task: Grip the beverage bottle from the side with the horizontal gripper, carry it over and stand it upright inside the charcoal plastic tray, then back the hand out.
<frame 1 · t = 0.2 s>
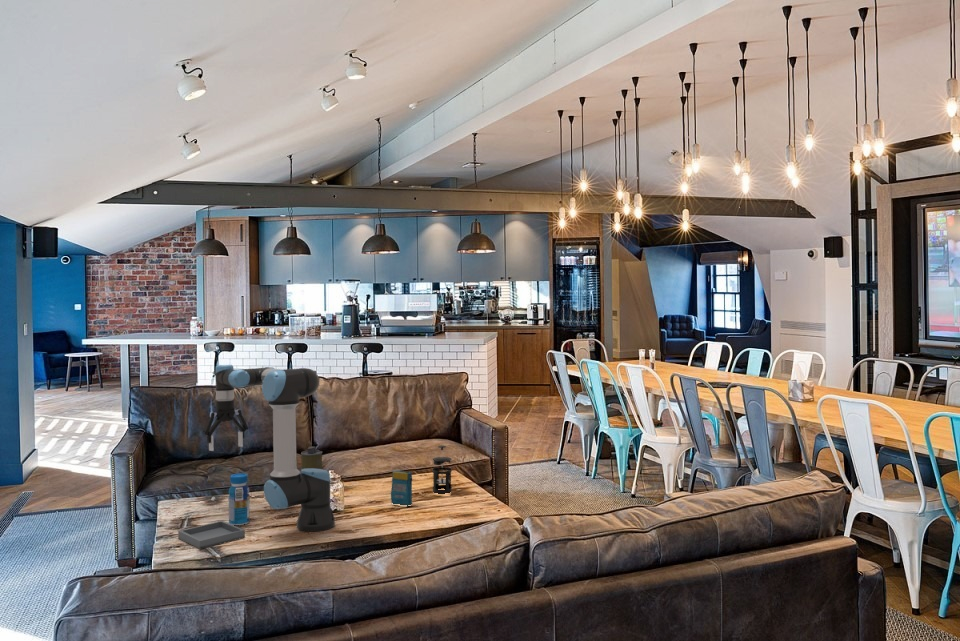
hand: (226, 448, 317), 27 cm above the table, tool pointing down, fingers open, 13 cm apart
french press: (441, 494, 343), on the table
tray: (211, 538, 279), on the table
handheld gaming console: (401, 506, 323), on the table
beverage bottle: (239, 523, 298), on the table
canister: (312, 487, 357), on the table
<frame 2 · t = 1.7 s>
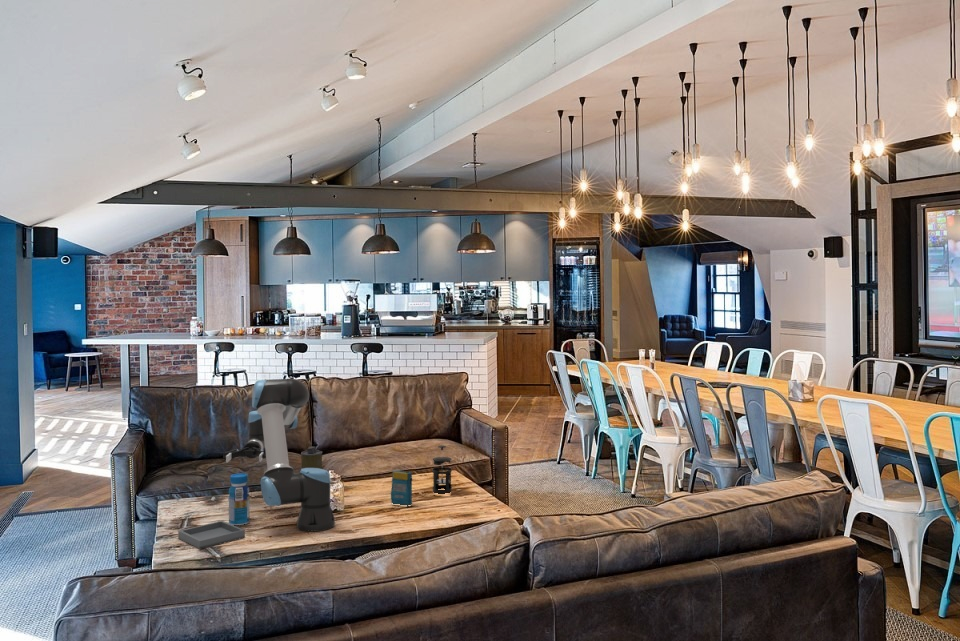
hand: (243, 458, 308), 25 cm above the table, tool horizontal, fingers open, 13 cm apart
nothing on the table moved.
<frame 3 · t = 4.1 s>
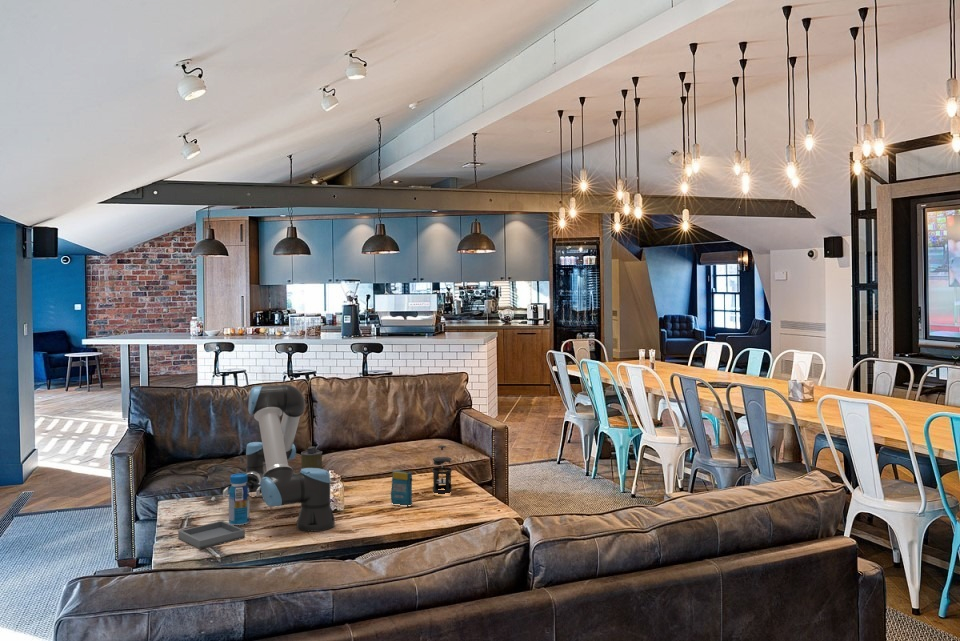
hand: (240, 494, 303), 11 cm above the table, tool horizontal, fingers open, 13 cm apart
nothing on the table moved.
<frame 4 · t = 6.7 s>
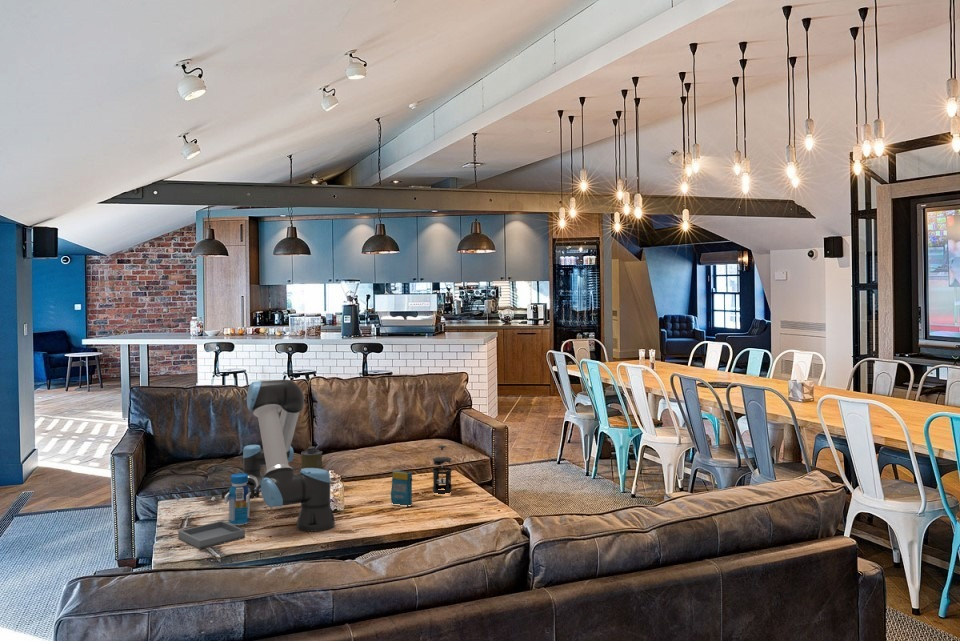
hand: (236, 499, 293), 11 cm above the table, tool horizontal, fingers closed on beverage bottle, 8 cm apart
beverage bottle: (239, 523, 298), on the table, touching gripper
everything else where it was.
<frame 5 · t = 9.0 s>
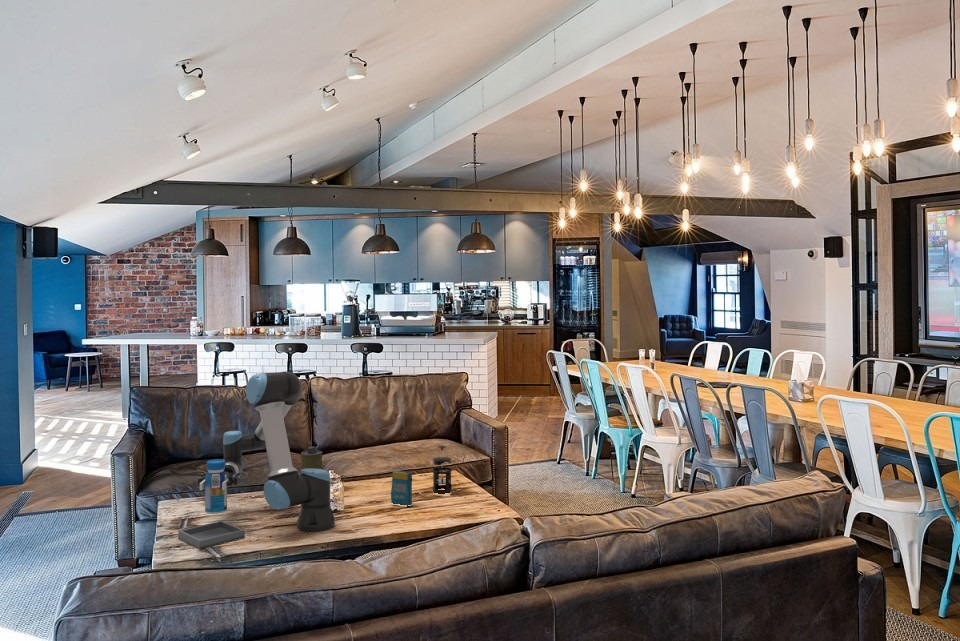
hand: (212, 486, 279), 20 cm above the table, tool horizontal, fingers closed on beverage bottle, 8 cm apart
beverage bottle: (216, 511, 284), point 9 cm above the table, touching gripper
everything else where it was.
when the fingers open (13 cm above the table, at t = 11.5 s): beverage bottle drops 1 cm, resting on tray.
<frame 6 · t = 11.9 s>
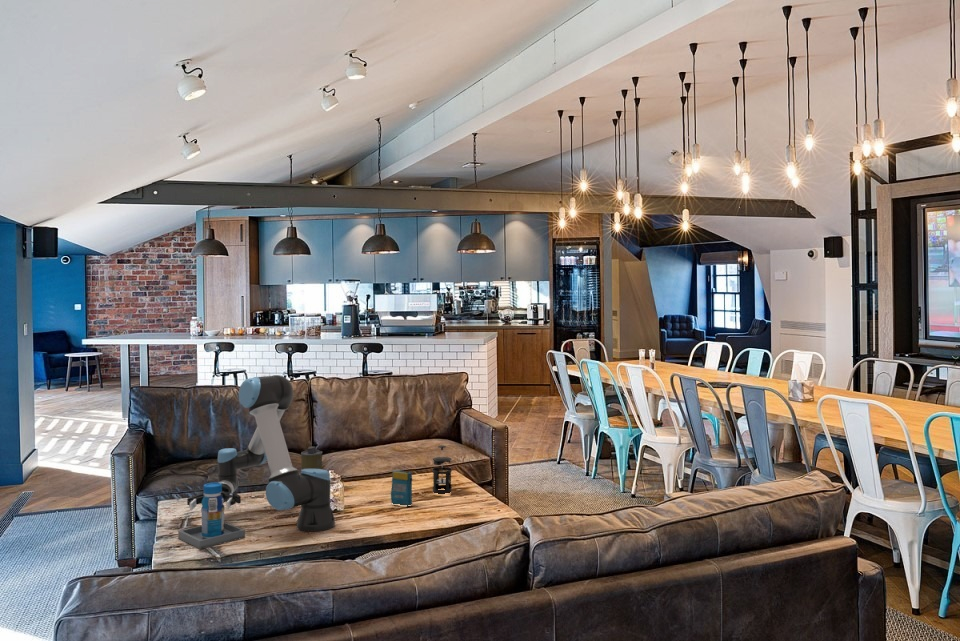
hand: (209, 506, 276), 13 cm above the table, tool horizontal, fingers open, 13 cm apart
beverage bottle: (212, 536, 279), point 1 cm above the table, touching tray
everything else where it was.
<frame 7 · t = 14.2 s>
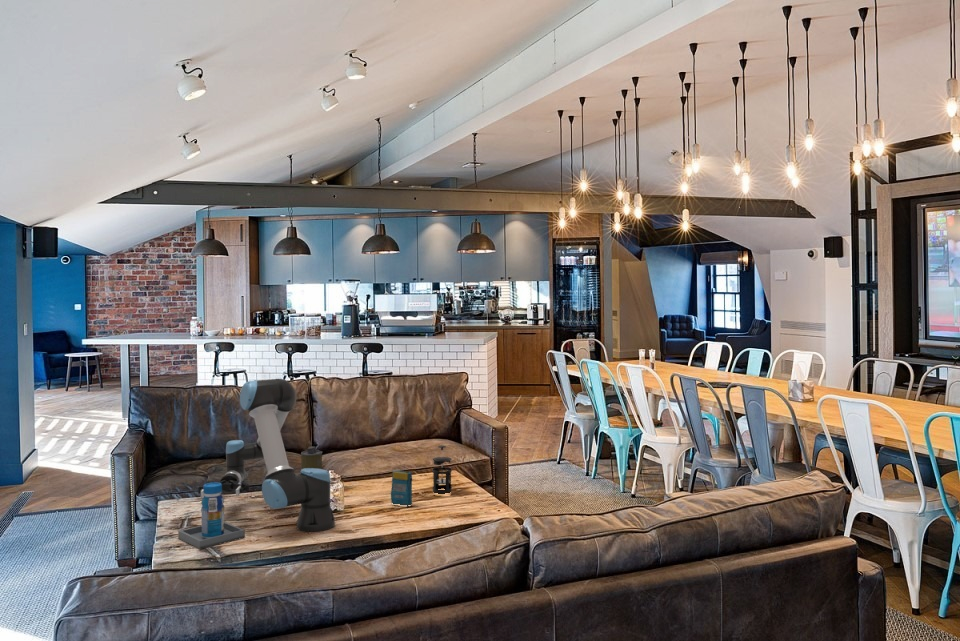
hand: (219, 493, 290), 14 cm above the table, tool horizontal, fingers open, 13 cm apart
nothing on the table moved.
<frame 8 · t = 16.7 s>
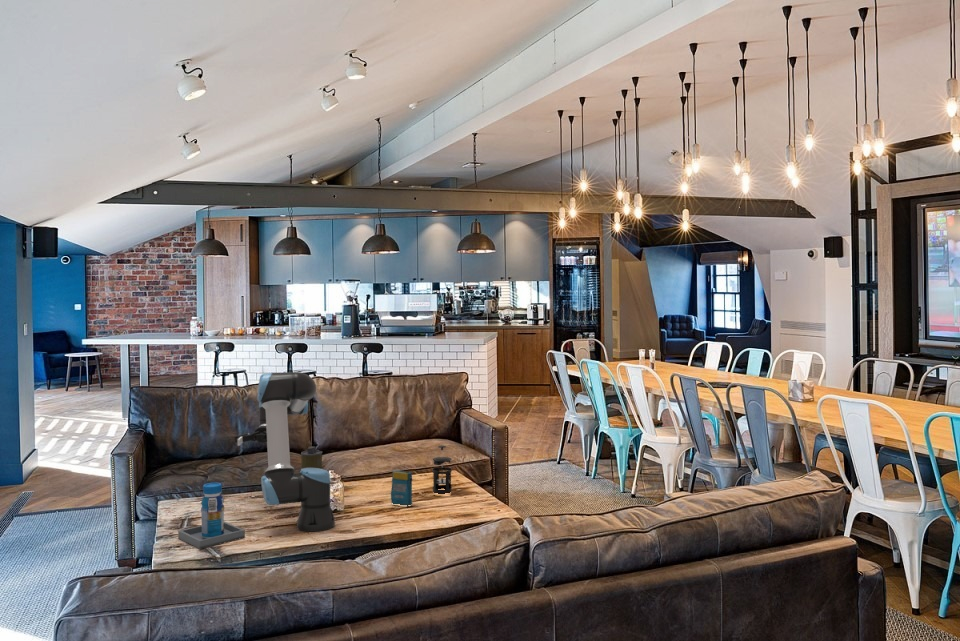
hand: (255, 442, 306), 32 cm above the table, tool horizontal, fingers open, 13 cm apart
nothing on the table moved.
at the end: beverage bottle inside the target area on the tray (0.4 cm from its centre), point 0.6 cm above the tray's base; beverage bottle tilted 0°; the gripper is holding nothing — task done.
